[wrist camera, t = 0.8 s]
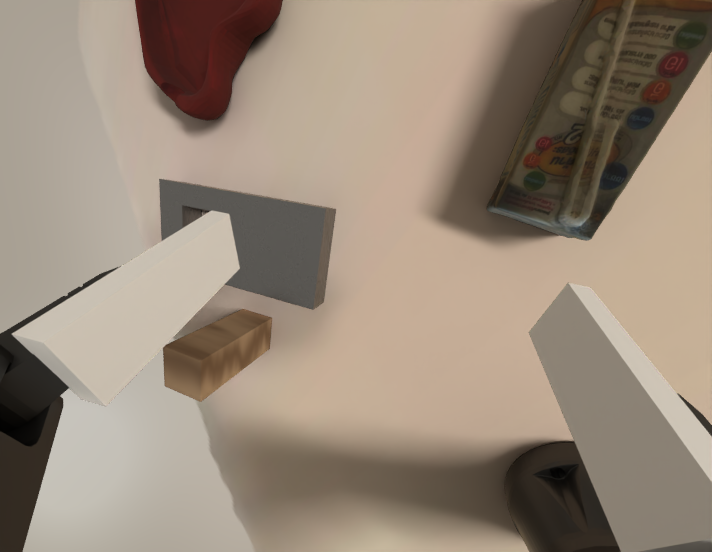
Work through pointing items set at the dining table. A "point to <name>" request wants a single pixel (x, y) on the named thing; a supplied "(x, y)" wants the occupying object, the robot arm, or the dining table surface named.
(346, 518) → the dining table surface
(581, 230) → the beverage carton
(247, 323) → the walnut block
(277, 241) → the steel rail
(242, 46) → the dark red curved piece
